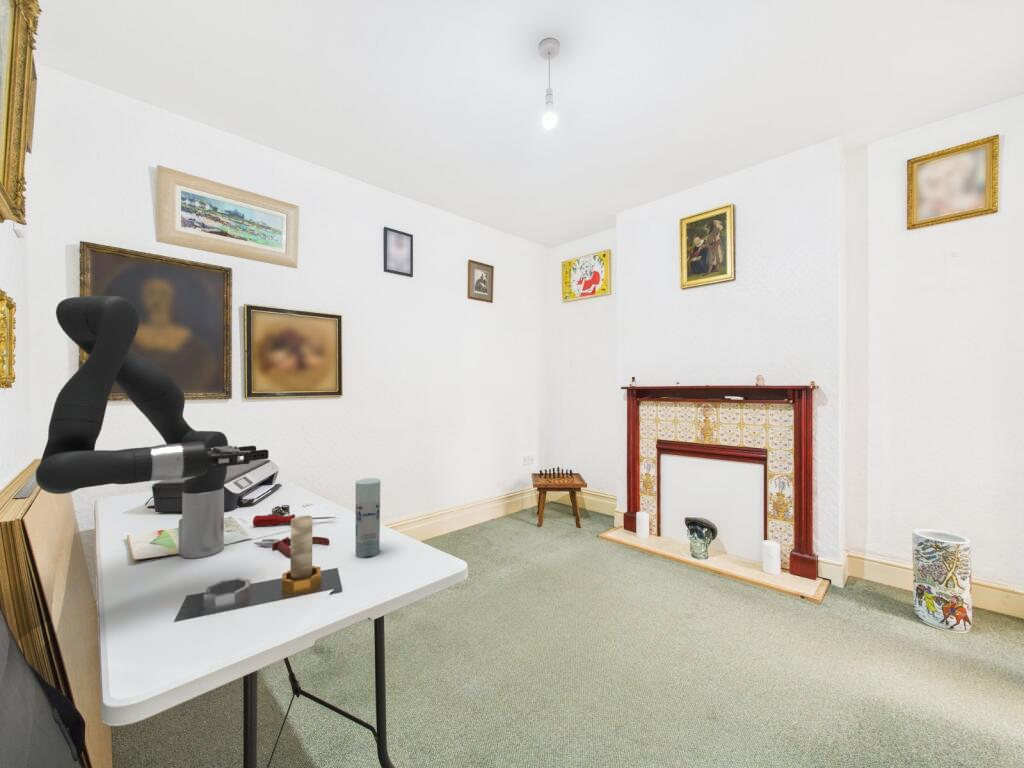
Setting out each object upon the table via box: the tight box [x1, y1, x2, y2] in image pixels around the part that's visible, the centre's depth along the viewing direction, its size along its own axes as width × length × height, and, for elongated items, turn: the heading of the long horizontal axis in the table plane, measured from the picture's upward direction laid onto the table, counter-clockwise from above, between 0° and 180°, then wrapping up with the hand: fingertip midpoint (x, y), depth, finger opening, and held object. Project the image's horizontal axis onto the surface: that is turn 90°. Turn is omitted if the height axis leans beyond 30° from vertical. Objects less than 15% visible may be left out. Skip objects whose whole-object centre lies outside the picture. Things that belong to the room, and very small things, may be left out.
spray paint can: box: [355, 477, 381, 559], centre depth 114 cm, size 6×6×20 cm
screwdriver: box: [252, 513, 337, 527], centre depth 137 cm, size 4×25×4 cm, turn 100°
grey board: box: [173, 565, 343, 623], centre depth 91 cm, size 30×11×4 cm, turn 118°
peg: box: [290, 515, 314, 580], centre depth 94 cm, size 4×4×15 cm
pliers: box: [253, 536, 330, 559], centre depth 118 cm, size 12×20×3 cm, turn 76°
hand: (261, 451), depth 101 cm, fingers open, 8 cm apart
